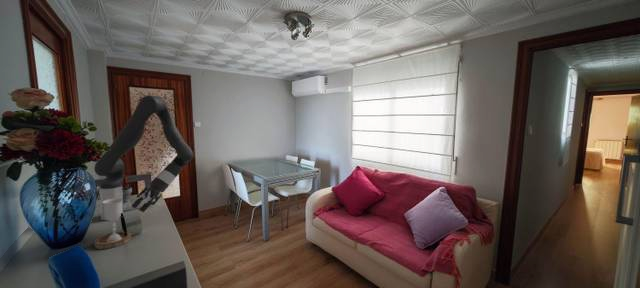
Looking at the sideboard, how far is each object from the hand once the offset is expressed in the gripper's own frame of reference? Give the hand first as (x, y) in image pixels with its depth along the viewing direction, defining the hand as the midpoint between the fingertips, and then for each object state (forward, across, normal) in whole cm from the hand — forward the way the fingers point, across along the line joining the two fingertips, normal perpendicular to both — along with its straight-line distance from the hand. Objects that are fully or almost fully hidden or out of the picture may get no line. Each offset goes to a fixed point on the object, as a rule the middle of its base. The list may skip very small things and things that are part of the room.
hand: (137, 209), depth 111 cm
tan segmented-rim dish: (+15, 0, +2) cm, 15 cm away
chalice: (+15, 0, +2) cm, 15 cm away
